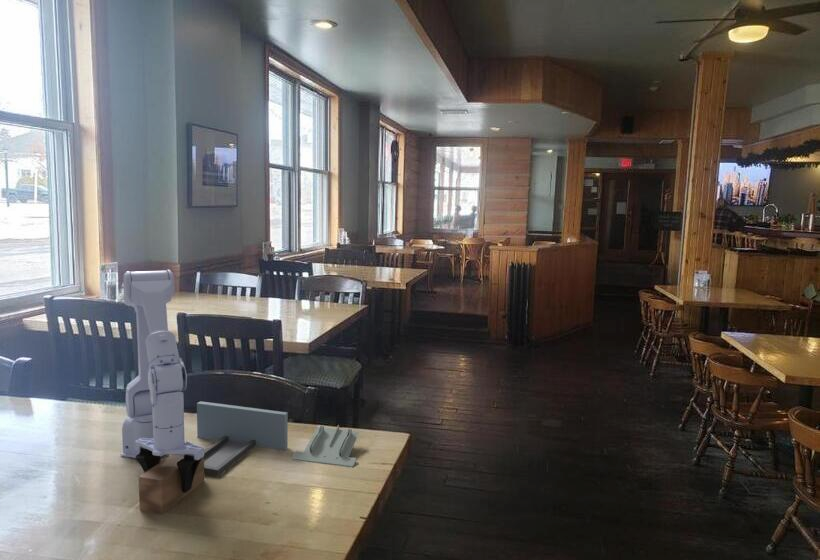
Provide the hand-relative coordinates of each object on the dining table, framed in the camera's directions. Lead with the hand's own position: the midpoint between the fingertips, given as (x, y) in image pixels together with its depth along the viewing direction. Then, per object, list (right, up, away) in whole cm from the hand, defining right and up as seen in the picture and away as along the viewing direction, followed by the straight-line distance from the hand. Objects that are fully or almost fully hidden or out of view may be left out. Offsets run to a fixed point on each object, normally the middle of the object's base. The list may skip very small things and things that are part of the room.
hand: (170, 487), depth 116 cm
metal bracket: (+29, 0, +23) cm, 37 cm away
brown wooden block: (0, -2, +1) cm, 2 cm away
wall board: (+5, 0, +19) cm, 19 cm away
